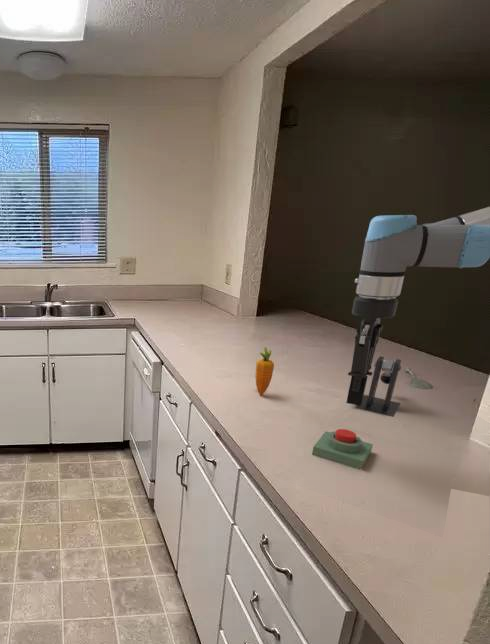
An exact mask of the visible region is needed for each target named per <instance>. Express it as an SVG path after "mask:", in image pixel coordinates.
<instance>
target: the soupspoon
mask: <svg viewBox="0 0 490 644" xmlns="http://www.w3.org/2000/svg"><path fill="white" fill-rule="evenodd" d="M404 371H405V372H406V373H409V374H410V375H411V377H412V378H413V379H409V380H407V382H406V385H407V386H408V387H410V388H414V389H420V390H432V389H433V385H432V384H431V383H430V382H429V381H427V380H424V379H420V378H418V377H417V376H416V374H414V373H413V371H412V368H411V367H408V366H407V367H405V368H404Z"/></svg>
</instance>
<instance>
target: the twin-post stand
mask: <svg viewBox="0 0 490 644" xmlns="http://www.w3.org/2000/svg"><path fill="white" fill-rule="evenodd" d="M384 358H385V357H384V356H381V355H380V356H378V358H377V359H376V361H374V365H373V366H374V371H373V373H372V379H371V382H370V383H371V384H370V387H369V391H368V395H365V394H364V396H363V400H362V404H361V406H358V405H355V407H354V408H355V409H357V410H362V411H367V412H370V413H375V414H379V415H382V416H383V415H384V416H387V417H393V418H394V416H395V414H396V413H397V411H398V409H399V407H400V405H401V402H399V401H395V400H392V398H393V394H394V390H395V387H396V382H397V379H398V374H399V372H400V371H401V369H402V365H401V363H402V359H399V358H396V360H395V361H394V365H393V368H392V371H391V372H392V374H391V378H390V382H389V384H388V387H387V389H386V390H387V391H386V395H385V399H384V398H379V397H375V396H376V392H377V388H378V383H379V380H380V377H381V372H382V364H383V361H384V360H385V359H384Z"/></svg>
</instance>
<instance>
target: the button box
mask: <svg viewBox="0 0 490 644" xmlns="http://www.w3.org/2000/svg"><path fill="white" fill-rule="evenodd" d="M335 433H336V430H335V431H327V430H325V431H324V433H323V434H322V435H321V436H320V438H319V439H318V440H317V441H316V442H315V443H314V445H313V447H312V452H311V455H312V456H315V457H318V458H321V459H324V460H328V461H331V462H333V463H334V462H335V463H337V464H341V465H344V466H347V467H351V468H354V469H357V468H358V469H357V470H360V469H362V470H363V468H364V467H365V464H366V462H367V460H368V459H367V458H369V457H370V454H371V453H372V450H373V446H374V444H373V443H369V442H366V441H363V440H362V439H361V437H359V436H357V435H356V438H355V442H354V443H344V442H340V441H338V440H336V439H335Z"/></svg>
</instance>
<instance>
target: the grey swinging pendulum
mask: <svg viewBox="0 0 490 644" xmlns="http://www.w3.org/2000/svg"><path fill="white" fill-rule="evenodd" d="M394 363H395V361H394V360H389V359H383V364H382V368H381V372H383V373H382V374H380V381H381V383H383V384H385V385H389V382H390V378H391V374H392V370H393V366H394Z"/></svg>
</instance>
